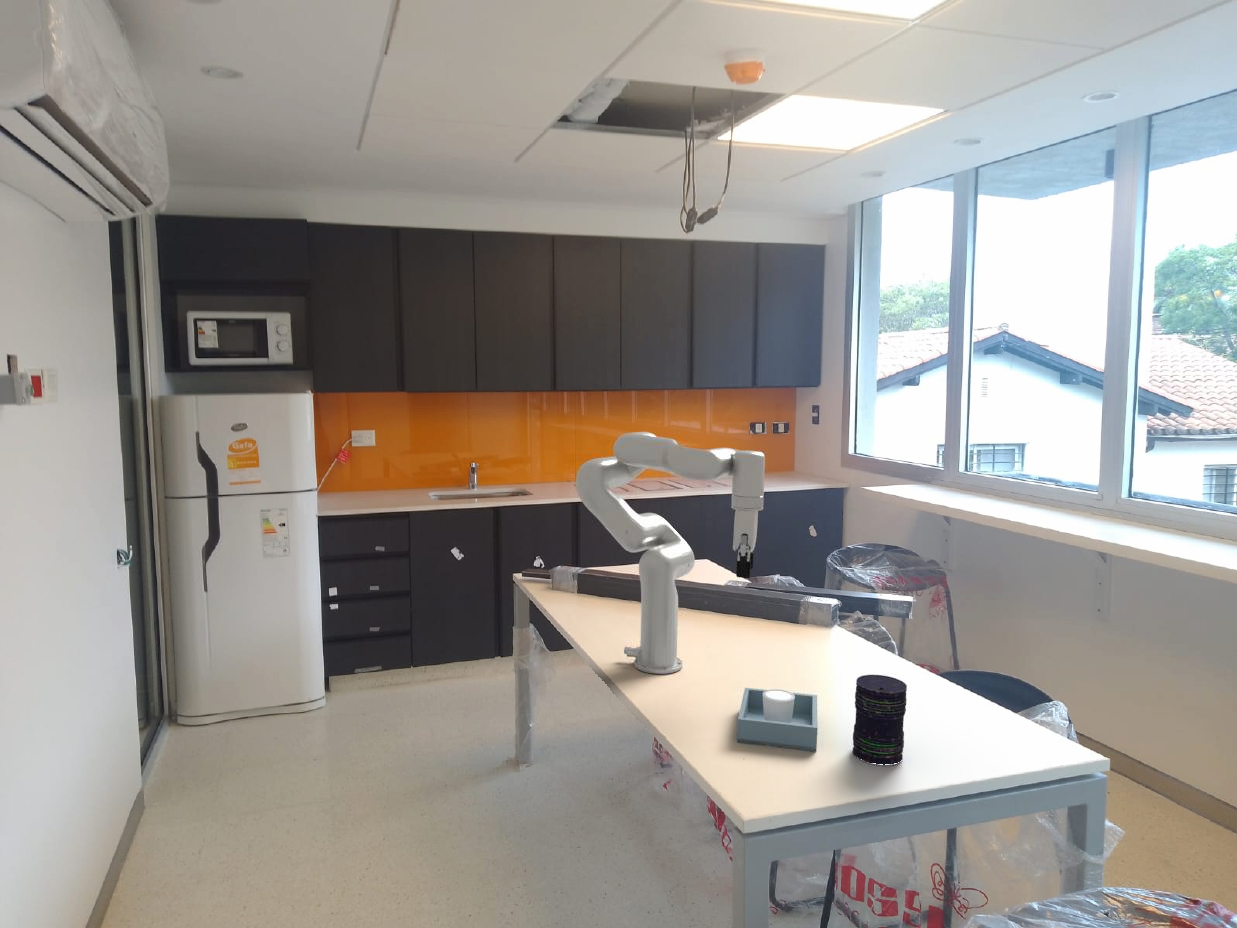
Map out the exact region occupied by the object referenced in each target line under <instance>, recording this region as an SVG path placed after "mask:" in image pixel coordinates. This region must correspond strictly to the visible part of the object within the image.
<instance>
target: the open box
mask: <svg viewBox="0 0 1237 928" xmlns="http://www.w3.org/2000/svg"><path fill="white" fill-rule="evenodd" d="M766 690H767V689H763V688H751V687H744V690H743V695H742V699H741V703H740V709H739V712H738V716H737V717H738V718H737V731H736V743H742V744H748V743H749V745H759V746H765V745H770V746H769V747H773V746H776V747H775V748H781V747H782V748H783V749H790V750H791V749H793V750H798V749H802V750H801V751H807V750H808V751H807V752H815V751H816V752H817V747H818V744H817V743H818V695H817V694H811V693H799V692H791V691H790V692H791V693H792V694H794V695H795V700H794V707H793V714H792V721H791V723H786V722H778V721H769V720H764V711H763V692H764V691H766Z"/></svg>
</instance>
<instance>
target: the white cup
mask: <svg viewBox="0 0 1237 928" xmlns="http://www.w3.org/2000/svg"><path fill="white" fill-rule="evenodd" d="M765 690H766V691H764V692H763V711H764V720H769V721H778V722H786V723H791V721H792V714H793V707H794V700H795V695H794V694H792V693H793V692H792V693H791V691H789V690H785V689H777V688H776V689H775V688H774V689H765Z"/></svg>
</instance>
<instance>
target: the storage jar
mask: <svg viewBox="0 0 1237 928" xmlns="http://www.w3.org/2000/svg"><path fill="white" fill-rule="evenodd" d="M855 684H856V686H855V693H854V699H855V701H854V708H855V722H854V725H853V733H852V745H853V747H852V755H854V757H855V756H856V757H855V758H857V757H858V758H859V759H858V758H857V759H858V760H860V759H862V760H864V761H866V762H869V763H876V764H883V765H885V764H894V763H898V762H900V761H901V760H902V761H903V758H904V757H903V753H904V746H905V732H904V717H905V715H906V711H907V708H906V706H907V691H908V689H907V687H908V686H907V684H906V682H904V681H903V680H901V679H898V678H895V677H893V676H888V675H885V674H884V675H883V674H882V675H881V674H865V675H861V676H858V677H857V678H856V682H855ZM862 760H861V761H862ZM864 761H863V762H864ZM902 761H901V762H902ZM866 762H865V763H866ZM901 762H900V763H901ZM869 763H868V764H869Z"/></svg>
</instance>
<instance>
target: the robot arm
mask: <svg viewBox="0 0 1237 928" xmlns="http://www.w3.org/2000/svg"><path fill="white" fill-rule="evenodd" d="M647 469H648V470H654V471H658V472H664V473H668V475H669V474H670V475H673V476H675V477H677V478H678V477H680V478H683V479H690V480H693V481H695V480H696V481H701V482H712V481H717V480H724V479H731V478H732V480H731V482H732V483H731V484H732V485H731V509H732V510H735V513H734V523H733V540H732V541H733V543H732V550H733V551H734V552H736V551H737V550H738V552H737V560H736V572H735V573H736V575H735V576H736V577H737V578H742V579H750V578H751V570H753V568H754V550H755V547H756V542H757V533H758V523H759V522H758V520H759V519H758V517H759V511H763V510H764V500H765V499H764V496H765V495H764V494H765V471H766V470H765V469H766V456H765V454H764V453H763V452H761V451H759V450H757V451H756V450H739V449H735V448H730V447H715V448H710V449H700V448H695V447H693V448H692V447H686V446H682V445H679V443H678V441H676V440H675V439H673V438H669V437H662V436H657V435H655V434H654V433H651V432H649V431H638V432H637V431H636V432H627V433H624V434H622V435H620V436H619V437H618V438H617V439H616V440H615V442H614V445H613V456H607V457H606V456H605V457H604V456H603V457H599V458H593V459H590V460H587V461H585V462H584V463H583V464H582V465H581V466H580V467H579V468H578V470H577V474H576V476H575V477H576V478H575V479H576V480H575V483H576V492H577V495H578V497H579V499H580V500H581V503H583V505H584V506H585V507H586V508H587V510H588V511H590V513H591V514H592V515H594V517H595V518H596V519H598V521H599V522H600V523H601V524H602V525H603V527H604V528H605V529H606V530H607V531H608V532H609V533H610V535H611V536H612V537H613V538H614V540H615V541H617V543H619V545H620V546H621V547H622V548H623V549H624V550H625V551H628V552H629V553H639V552H643V551H645V552H643V554H642V555H641V557H640V559H639V562H638V574H639V581H640V592H641V593H640V595H641V596H640V597H641V600H640V604H641V605H640V609H641V610H640V614H641V615H640V641H639V642H640V644H639V645H640V646H636V647H632V646H624V648H623V649H624V650H623V654H624V655H626V657H629V658H635V659H634V660H633V666H634V668H635V669H638V670H639V671H641V672H644V673H648V674H656V675H657V674H659V675H664V674H666V675H667V674H672V673H673V674H674V673H676V672H678V671H680V670H682V668H683V660H681V659H680V658H678V655H677V654H678V623H679V595H678V590H677V586H676V582H675V581H676V579H679V578H682V577H684V576H687V574H689V573H690V572H691V571H692V570H693V568H694V566H695V559H696V558H695V554H694V552H693V549H692V548H691V547H690V545H689V544H688V543H687V541H686V540H685V539H684V538H683V537H682V536H681V535H680V534H679V533H678V531H676V529H675V528H673V526H672V525H671V524H670V523H669V522H668V521H667V520H666V519H665V518H664V517H662V516H661V515H659V514H657V513H655V512H654V513H653V512H644V513H637V512H636V511H635V510H634V509H633V508H632V507H630V505H629V504H628V503H627V502H626V501H625V500H624V499H623V498H622V497H621V496H619V495H618V494H616V493H615V492H613V491H612V490H611V489H615V488H620V487H622V486H625V485H627V484H629V483H630V482H632V481H633V480H634V479H635V478H636V477H638V476H639V475H640V474H641V473H643V472H644V471H645V470H647Z"/></svg>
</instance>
